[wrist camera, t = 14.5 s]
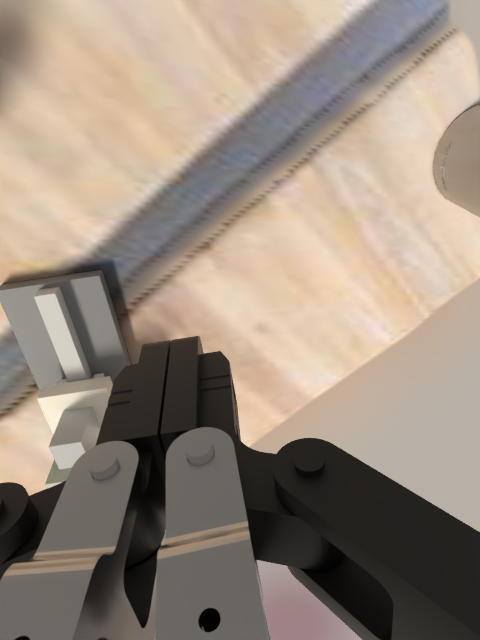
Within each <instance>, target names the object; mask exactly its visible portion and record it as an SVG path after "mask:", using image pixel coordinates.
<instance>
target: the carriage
mask: <svg viewBox="0 0 480 640" xmlns="http://www.w3.org/2000/svg"><path fill="white" fill-rule="evenodd" d="M112 386H113V384H112V381H111V378H110V376H107V377H105V376H104V373H100V374H94V376H93V379H87V380H80V381H74V382H68V380H67V378H66V379H60V380H59V381H58V383H57V384H54V385H47V386H43V387H42V389H41V391H40V393H39V395H38V397H37V400H38V402H39V404H40V407H41V409H42V411H43V413H44V415H45V418H46V420H47V422H48V424H49V426H50V428H51V431H52V433H53V437H52V440H51V442H50V445H49V449H50V451H51V453H52V455H53V457H54V459H55V461H56V463H57V465H58V468H59V469H66V468H72V467H73V465H74V464H75V462H76V461H77V460H78V459H79V458H80V456H82V455H83V454H84V453H85V452H86V451H88V450H89V449H91V448H93V447H95V446H96V442H97V439H98V435H99V432H100V428H101V425H102V421H103V418H104V414H105V411H106V407H108V405H107V404H108V400H109V397H110V396H111V390H112Z"/></svg>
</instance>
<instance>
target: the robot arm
mask: <svg viewBox="0 0 480 640" xmlns="http://www.w3.org/2000/svg"><path fill="white" fill-rule="evenodd" d="M433 175H434V179H435V183H436V185H437V187H438V189H439V191H440V193H441V194H442V195H443V196H444V197H445V198H446V199H448V200H449V201H451V202H453V203H454V204H456V205H458V206H460V207H462V208H464V209H466V210H467V211H469V212H471V213H473V214H474V215H476V216H478V217H480V104H479V105H476V106H474V107H472V108H470V109H469V110H467V111H465V112H464V113H462V114H461V115H460V116H459V117H458V118H457V119H455V120H454V121H453V122H452V124H451V125H450V126H449V127H448V128H447V130H446V131H445V133H444V134H443V136H442V138H441V139H440V141H439V144H438V146H437V149H436V152H435V156H434V161H433ZM107 405H108V407H106V411H105V414H104V418H103V421H102V425H101V428H100V432H99V435H98V439H97V442H96V446H95V447H93V448H91V449H89V450H88V451H86V452H85V453H84V454H83V455H82V456H80V458H79V459H78V460H77V461H76V462H75V464H74V465H73V467H72V469H71V471H70V473H69V476H68V478H67V480H66V481H64V482H62V483H60V484H58V485H55V486H53V487H50V488H48V489H45V490H43V491H40V492H38V493H36V494H33V495H31V496H29V495H28V493H27V491H26V489H25V488H24V487H23V486H22V485H20V484H17V483H10V482H7V483H1V484H0V640H154V638H155V640H271V636H270V631H269V625H268V620H267V615H266V610H265V604H264V599H263V593H262V588H261V583H260V577H259V572H258V566H257V561H256V560H261V561H266V562H271V563H276V564H282V565H287V566H288V569H289V570H290V572H291V573H292V575H294V577H295V578H296V579H297V580H299V581H300V582H301V583H302V584H303V585H304V586H305V587H306V588H307V589H308V590H309V591H310V592H311V593H313V594H314V595H315V596H316V597H317V598H318V599H319V600H320V601H321V602H322V603H323V604H325V605H326V606H327V607H328V608H329V609H330V610H331V611H332V612H333V613H334V614H335V615H337V616H338V617H339V618H340V619H341V620H342V621H343V622H344V623H345V624H346V625H348V627H350V628H351V629H352V630H353V631H354V632H355V633H356V634H357V635H358V636H359V637H360V638H361V639H363V640H480V532H478V531H476V530H475V529H473V528H472V527H470V526H468V525H467V524H465V523H463V522H462V521H460V520H458V519H456V518H455V517H453V516H451V515H450V514H448V513H446V512H445V511H443V510H442V509H440V508H438V507H437V506H435V505H433V504H432V503H430V502H428V501H427V500H425V499H423V498H422V497H420V496H418V495H416V494H415V493H413V492H412V491H410V490H408V489H407V488H405V487H403V486H402V485H400V484H398V483H397V482H395V481H393V480H392V479H390V478H388V477H387V476H385V475H383V474H382V473H380V472H378V471H377V470H375V469H373V468H371V467H370V466H368V465H366V464H365V463H363V462H362V461H360V460H358V459H357V458H355V457H353V456H352V455H350V454H348V453H347V452H345V451H343V450H342V449H340V448H338V447H337V446H335V445H333V444H332V443H330V442H327V441H324V440H321V439H316V438H304V439H298V440H295V441H292V442H290V443H288V444H286V445H285V446H283V447H282V448H281V449H280V450H279V451H278V453H277V454H272V453H264V452H259V451H256V450H253V449H251V448H249V447H247V446H246V445H244V444H243V443H242V442H241V439H240V429H239V420H238V408H237V401H236V396H235V390H234V385H233V379H232V374H231V368H230V363H229V361H228V359H227V358H226V357H225V356H224V355H223V354H222V352H221V351H218V352H212V353H205V354H204V353H203V348H202V344H201V340H200V337H199V336H195V337H188V338H182V339H175V340H172V341H163V342H157V343H150V344H144V345H143V346H142V350H141V354H140V359H139V363H138V364H135V365H128V366H125V367H124V369H123V370H122V371H121V372H120V373H119V374H118V376H117V377H116V378H115V379H114V383H113V386H112V390H111V396H110V397H109V400H108V404H107ZM165 530H166V532H165ZM155 628H156V631H155ZM155 634H156V635H155Z"/></svg>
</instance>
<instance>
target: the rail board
mask: <svg viewBox="0 0 480 640" xmlns="http://www.w3.org/2000/svg"><path fill="white" fill-rule="evenodd" d="M0 302H1V305H2V307H3V309H4V311H5V314H6V316H7V318H8V320H9V322H10V325H11V327H12V329H13V331H14V334H15V336H16V338H17V340H18V343H19V345H20V347H21V349H22V352H23V354H24V356H25V358H26V360H27V363H28V365H29V367H30V369H31V372H32V374H33V376H34V378H35V381H36V383H37V385H38V387H39V390H40V391H41V389H42V387H43V386H47V385H54V384H57V383H58V381H59V380H60V379H66V378H67V380H68V382H74V381H80V380H87V379H93V376H94V374H100V373H104V376H105V377H107V376H110V378H111V381H112V384H113V383H114V379H115V378H116V377H117V376H118V374H119V373H120V372H121V371H122V370H123V369H124V367H125V366H128V365H131V362H130V359H129V355H128V352H127V349H126V346H125V342H124V339H123V336H122V333H121V329H120V326H119V323H118V319H117V316H116V313H115V310H114V306H113V303H112V300H111V297H110V293H109V290H108V287H107V284H106V280H105V277H104V274H103V271H102V270H96V271H89V272H82V273H76V274H69V275H62V276H56V277H49V278H42V279H36V280H29V281H22V282H15V283H9V284H2V285H1V286H0Z"/></svg>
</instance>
